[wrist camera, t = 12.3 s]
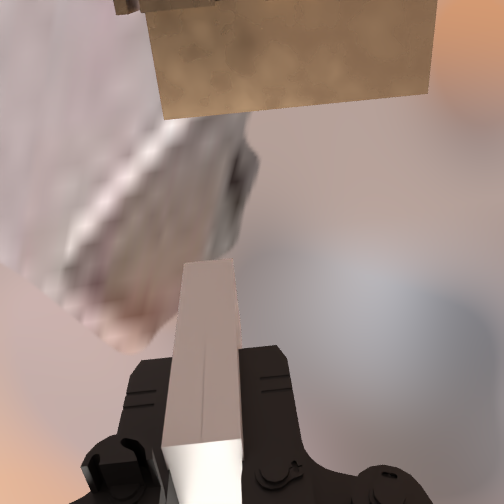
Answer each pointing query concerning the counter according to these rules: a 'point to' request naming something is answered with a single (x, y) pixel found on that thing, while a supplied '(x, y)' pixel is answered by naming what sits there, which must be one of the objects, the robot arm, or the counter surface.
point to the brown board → (284, 52)
